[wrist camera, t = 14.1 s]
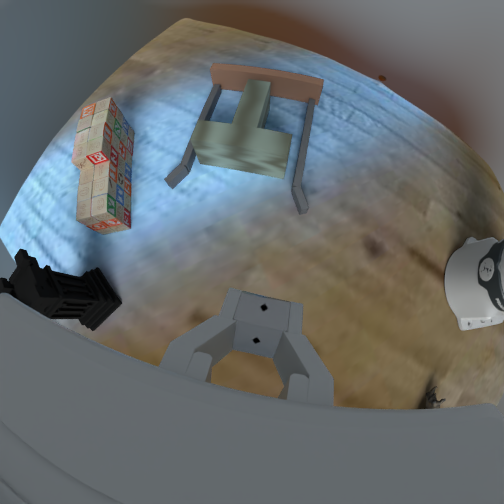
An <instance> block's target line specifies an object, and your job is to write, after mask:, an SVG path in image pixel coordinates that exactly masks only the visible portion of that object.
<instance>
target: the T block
mask: <svg viewBox="0 0 504 504" xmlns="http://www.w3.org/2000/svg"><path fill="white" fill-rule="evenodd" d="M270 84H271V82H267V81H260V80H252V79H248V81H247V83H246V86H245V88H244V91H243V94H242V96H241V99H240V102H239V104H238V107H237V110H236V113H235V115H234V118H233V121H232V124H229V123H222V122H213V121H204V120H198V122H197V124H196V127H195V129H194V132H193V134H192V136H191V139H190V140H191V143H192V145H193V148H194V150H195V153H196V155H197V158H198V160H199V163H200V164H204V165H210V166H216V167H222V168H228V169H234V170H239V171H245V172H250V173H255V174H260V175H265V176H270V177H275V178H280V179H284V175H285V170H286V165H287V161H288V155H289V150H290V145H291V139H292V134H288V133H283V132H278V131H273V130H267V129H264V127H265V123H266V120H267V116H268V113H269V107H270Z"/></svg>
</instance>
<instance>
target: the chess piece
mask: <svg viewBox="0 0 504 504" xmlns="http://www.w3.org/2000/svg"><path fill="white" fill-rule="evenodd" d="M14 258H15V261H16V264H17V268H16V269H15V271H14V272H13V274H12V275H11V277H10V278H9V281H7V279H6V278H0V294H1V293H8V294H10V295H11V296H13V297H14V298H16V299H17V300H19V301H20V302H22V303H24V304H25V305H27V306H28V307H30V308H32V309H33V310H35V311H37V312H39V313H40V314H42V315H44V316H46V317H47V318H49V319H79V321H80V323H81V324H82V325H85V326H86V327H87V328H90V329H91V330H92V331H94V330H95V329H96V328H97V327H98V326H99V325H100V324H101V323H103V322H104V321H105V320H106V319H107V318H108V317H109V316H110V315H111V314H112V313H113V312H114V311H115V310H116V309H117V308H118V307H119V306H120V305H121V304H122V303H121V301H120V300H119V298H118V297H117V295H116V294H115V292H114V291H113V289H112V288H111V286H110V285H109V283H108V282H107V280H106V278H105V277H104V275H103V274H102V272H101V270H100V269H99V268H96V269H95V270H93V269H91V270H90V272H87V271H86V272H85V273H84V274H83V275H82V276H81V277H78V276H73V275H69V274H64V273H60V272H55V271H52V270H51V268H50V266H48V265H46V266H45V267H44V268H43V269H42V268H40V267H39V265H38V262H37V260H36V258H34V257H31V256H28V253H27V250H23V249H20V250H19V251H18V252H17V254H16V255H15V257H14Z"/></svg>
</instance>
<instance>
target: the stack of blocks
mask: <svg viewBox="0 0 504 504" xmlns="http://www.w3.org/2000/svg"><path fill="white" fill-rule="evenodd" d="M133 143H134V131H133V130H132V128H131V127H130V125H129V124H128V122H127V121H126V120H125V118H124V116H123V114H122V113H121V111H120V110H119V108H118V107H117V106H116V104H115V103H114V101H113V99H112V98H111V97H109V98H107V99H104V100H101V101H98V102H97V103H94V104H91V105H89V106H87V107H84V108H83V109H82V113H81V117H80V120H79V123H78V127H77V134H76V136H75V142H74V149H73V155H72V161H71V162H72V163H73V164H74V165H75V166H76V167H77V168H78V169H79V170H81V171H80V179H79V186H78V195H77V213H76V214H77V215H76V220H77V221H78V222H80V223H82V224H84V225H86V226H87V227H88V228H90V229H92V230H95V231H97V232H99V233H101V234H103V235H104V234H108V233H113V232H119V231H123V230H127V229H131V219H130V212H131V168H132V155H133Z"/></svg>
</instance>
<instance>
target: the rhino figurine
mask: <svg viewBox="0 0 504 504" xmlns="http://www.w3.org/2000/svg"><path fill="white" fill-rule="evenodd" d="M436 388H437V386H436V387H434V388H433V389H432V390H431V391H430V392H428V393H426V407H427V408H428V409H437V408H440V404H441V403H443V402H444V401H445V400H446V399H441V400H440V401H437V400H436V397H435V396H436V393H435V394H434V392H435V389H436Z"/></svg>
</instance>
